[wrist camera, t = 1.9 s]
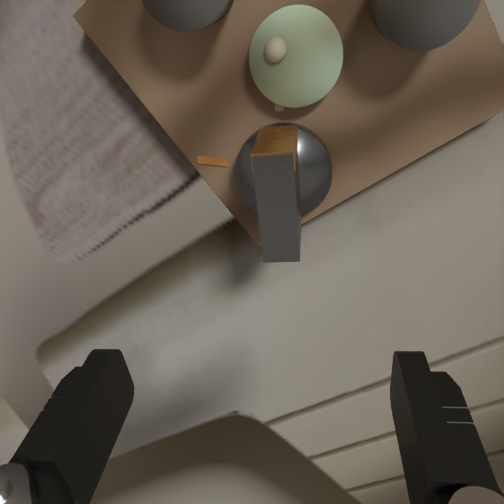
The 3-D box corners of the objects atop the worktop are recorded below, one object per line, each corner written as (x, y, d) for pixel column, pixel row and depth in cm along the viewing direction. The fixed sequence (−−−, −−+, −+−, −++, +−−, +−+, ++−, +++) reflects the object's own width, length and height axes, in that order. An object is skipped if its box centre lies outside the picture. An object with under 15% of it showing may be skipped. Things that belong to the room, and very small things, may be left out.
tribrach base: (509, 91, 25) (550, 112, 20) (262, 234, 32) (255, 271, 27) (358, -270, 18) (373, -350, 14) (88, 14, 25) (43, 18, 21)
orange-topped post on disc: (332, 210, 27) (337, 260, 22) (242, 215, 28) (228, 263, 23) (331, 116, 24) (336, 149, 19) (230, 124, 25) (210, 158, 20)
